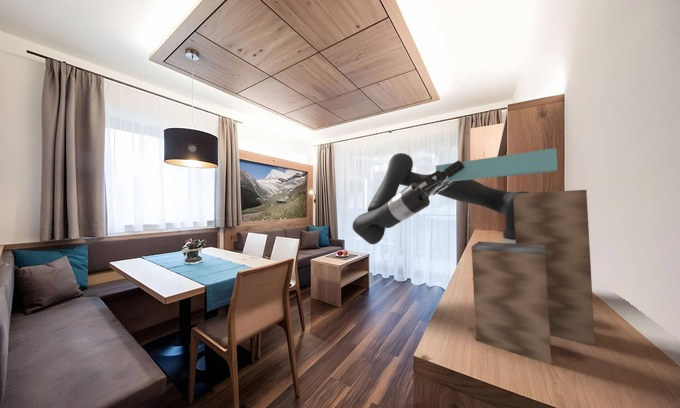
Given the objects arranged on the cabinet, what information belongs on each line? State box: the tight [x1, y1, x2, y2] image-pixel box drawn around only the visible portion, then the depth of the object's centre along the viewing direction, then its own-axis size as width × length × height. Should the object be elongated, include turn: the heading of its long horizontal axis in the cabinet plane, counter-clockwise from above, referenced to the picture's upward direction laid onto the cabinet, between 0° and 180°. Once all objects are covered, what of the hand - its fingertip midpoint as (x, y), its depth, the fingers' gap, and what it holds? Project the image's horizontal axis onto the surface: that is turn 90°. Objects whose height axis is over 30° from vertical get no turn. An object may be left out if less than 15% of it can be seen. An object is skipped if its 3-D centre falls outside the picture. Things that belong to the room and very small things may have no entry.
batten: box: [435, 147, 558, 182], centre depth 51 cm, size 22×4×4 cm, turn 47°
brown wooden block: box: [471, 241, 552, 365], centre depth 48 cm, size 12×8×21 cm, turn 48°
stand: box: [513, 189, 596, 347], centre depth 52 cm, size 12×7×32 cm, turn 48°
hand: (464, 164), depth 54 cm, fingers closed on batten, 4 cm apart
